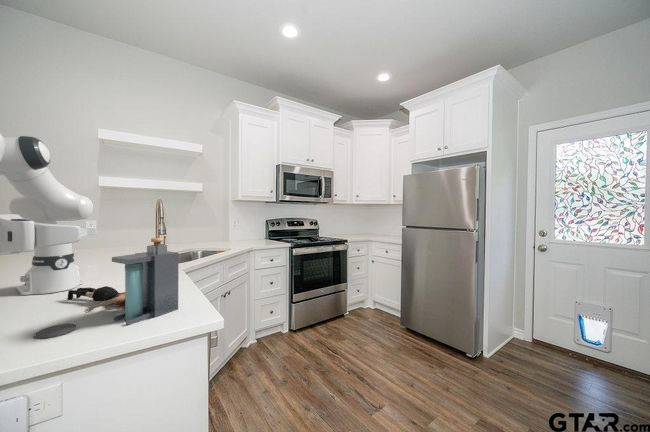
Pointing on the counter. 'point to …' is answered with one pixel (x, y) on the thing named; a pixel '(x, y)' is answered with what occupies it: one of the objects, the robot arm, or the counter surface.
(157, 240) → the plunger
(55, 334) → the pad
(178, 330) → the counter surface
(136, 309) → the cartridge
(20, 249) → the robot arm
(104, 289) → the figurine
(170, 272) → the housing
